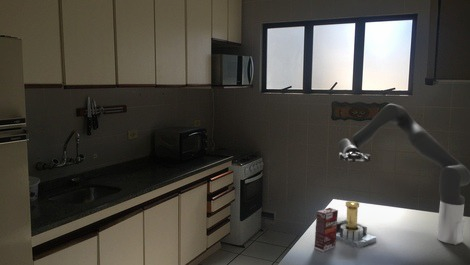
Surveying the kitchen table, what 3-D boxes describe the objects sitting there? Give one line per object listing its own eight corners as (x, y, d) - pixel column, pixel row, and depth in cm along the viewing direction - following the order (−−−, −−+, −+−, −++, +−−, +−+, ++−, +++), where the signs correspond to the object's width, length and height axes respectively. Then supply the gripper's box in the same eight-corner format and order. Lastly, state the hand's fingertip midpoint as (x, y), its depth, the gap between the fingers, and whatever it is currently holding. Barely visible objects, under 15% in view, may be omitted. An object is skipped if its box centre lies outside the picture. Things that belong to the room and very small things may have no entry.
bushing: (360, 234, 176) (361, 203, 174) (352, 237, 172) (354, 206, 170) (349, 230, 180) (350, 200, 178) (342, 233, 177) (343, 203, 175)
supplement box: (323, 252, 162) (325, 214, 160) (313, 248, 165) (315, 211, 163) (336, 247, 167) (338, 210, 165) (326, 243, 171) (328, 207, 169)
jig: (376, 241, 174) (376, 230, 173) (357, 248, 166) (358, 237, 166) (345, 230, 187) (346, 219, 186) (327, 236, 179) (327, 225, 178)
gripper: (337, 145, 204) (341, 151, 188) (366, 146, 202) (373, 152, 187) (336, 160, 205) (340, 166, 189) (365, 161, 203) (372, 168, 188)
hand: (356, 159), depth 188 cm, fingers open, 8 cm apart
